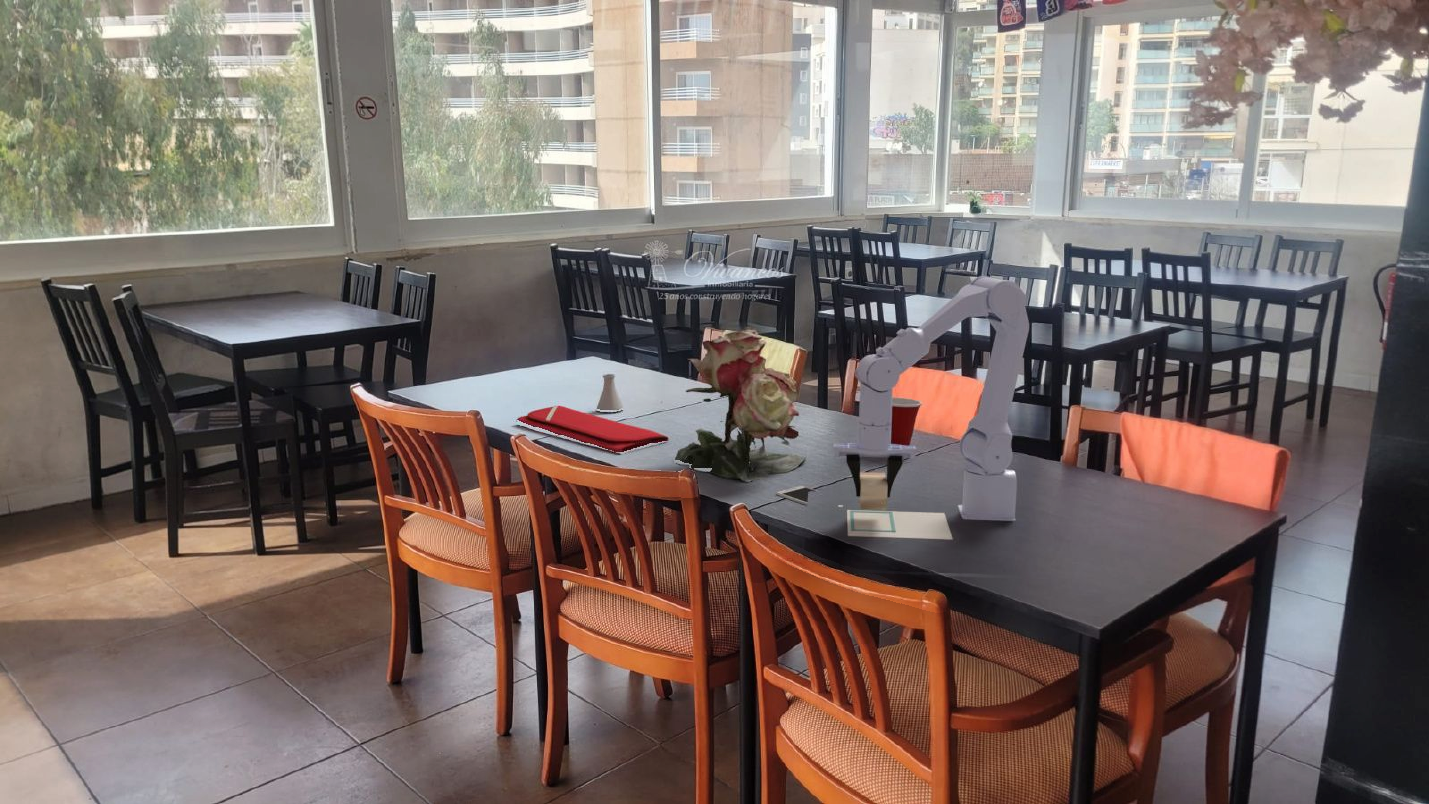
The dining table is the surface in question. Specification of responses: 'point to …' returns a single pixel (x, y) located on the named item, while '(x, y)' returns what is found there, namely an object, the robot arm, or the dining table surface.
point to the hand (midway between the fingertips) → (872, 495)
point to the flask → (609, 395)
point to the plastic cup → (903, 420)
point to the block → (873, 491)
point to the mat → (898, 524)
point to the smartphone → (797, 494)
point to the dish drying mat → (591, 428)
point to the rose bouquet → (744, 409)
